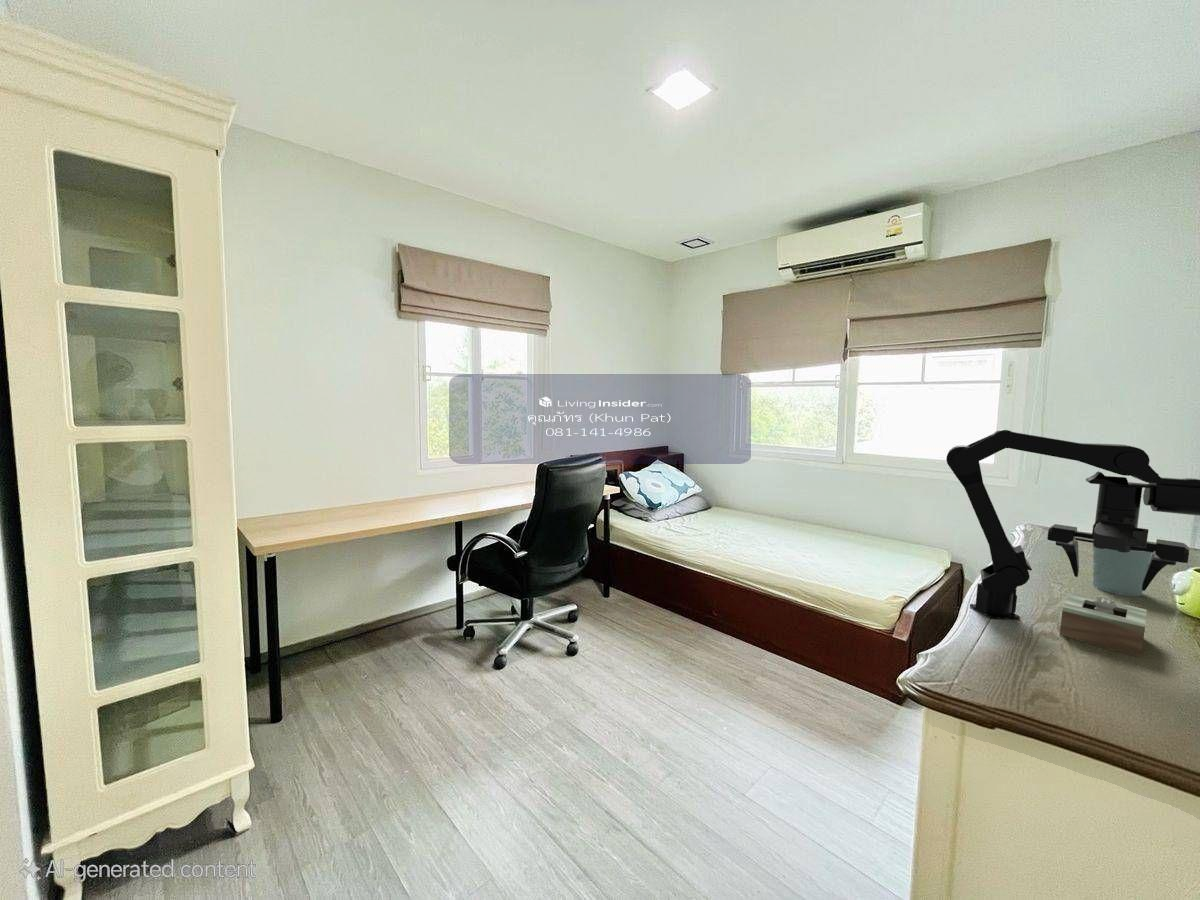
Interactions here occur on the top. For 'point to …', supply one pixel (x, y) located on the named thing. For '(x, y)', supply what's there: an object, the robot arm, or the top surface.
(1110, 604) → the rook chess piece
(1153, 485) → the robot arm
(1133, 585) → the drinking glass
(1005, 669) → the top surface
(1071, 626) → the box
